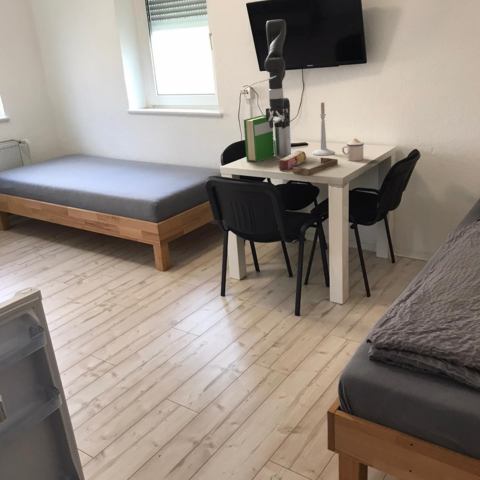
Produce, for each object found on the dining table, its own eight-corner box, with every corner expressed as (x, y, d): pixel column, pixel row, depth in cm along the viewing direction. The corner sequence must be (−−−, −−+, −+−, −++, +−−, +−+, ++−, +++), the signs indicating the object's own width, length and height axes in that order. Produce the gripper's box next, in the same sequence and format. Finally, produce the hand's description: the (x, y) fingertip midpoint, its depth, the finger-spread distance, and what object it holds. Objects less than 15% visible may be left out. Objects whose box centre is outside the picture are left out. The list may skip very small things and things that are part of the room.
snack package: (288, 171, 273) (288, 158, 270) (277, 170, 276) (277, 158, 274) (306, 162, 289) (306, 150, 287) (295, 162, 293) (295, 150, 290)
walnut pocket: (293, 173, 267) (292, 167, 266) (321, 162, 285) (321, 157, 284) (309, 175, 261) (309, 169, 260) (337, 164, 278) (337, 159, 277)
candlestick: (333, 150, 312) (333, 99, 302) (335, 155, 301) (334, 102, 290) (312, 152, 314) (310, 101, 303) (313, 156, 302) (311, 103, 292)
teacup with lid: (365, 158, 288) (366, 137, 283) (360, 161, 280) (360, 140, 276) (345, 157, 293) (345, 136, 289) (339, 160, 286) (339, 139, 282)
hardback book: (256, 162, 299) (253, 120, 290) (246, 161, 303) (243, 119, 295) (274, 155, 312) (272, 115, 303) (264, 155, 316) (261, 115, 308)
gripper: (261, 98, 278) (263, 128, 284) (282, 98, 269) (284, 129, 274) (270, 96, 283) (272, 126, 289) (291, 96, 274) (292, 127, 280)
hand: (277, 128), depth 282 cm, fingers open, 8 cm apart
